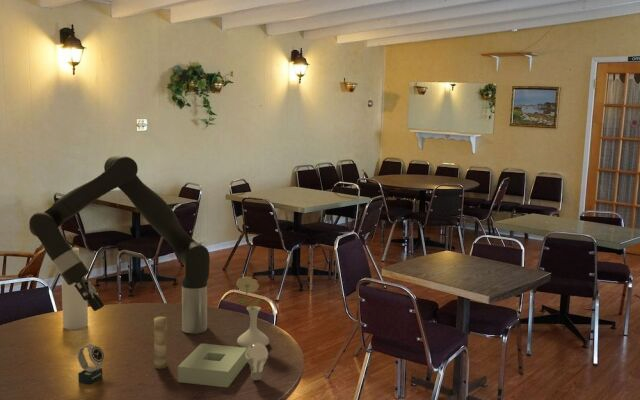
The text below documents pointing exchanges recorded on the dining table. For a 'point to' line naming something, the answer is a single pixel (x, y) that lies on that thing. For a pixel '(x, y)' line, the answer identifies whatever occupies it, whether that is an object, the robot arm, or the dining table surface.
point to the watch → (90, 373)
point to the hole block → (212, 365)
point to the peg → (160, 342)
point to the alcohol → (73, 306)
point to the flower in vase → (252, 333)
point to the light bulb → (256, 359)
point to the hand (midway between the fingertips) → (99, 308)
